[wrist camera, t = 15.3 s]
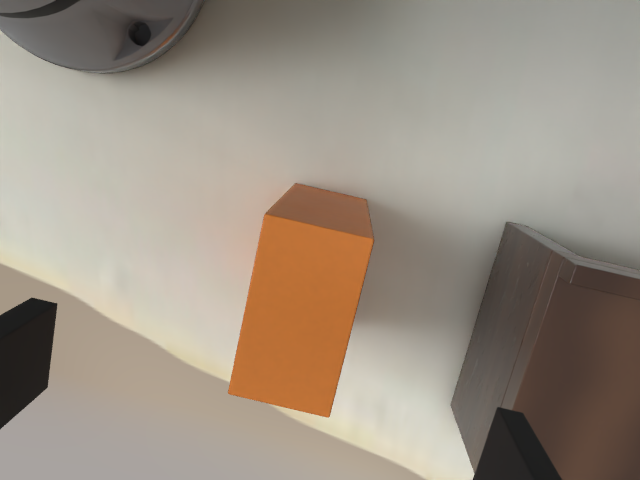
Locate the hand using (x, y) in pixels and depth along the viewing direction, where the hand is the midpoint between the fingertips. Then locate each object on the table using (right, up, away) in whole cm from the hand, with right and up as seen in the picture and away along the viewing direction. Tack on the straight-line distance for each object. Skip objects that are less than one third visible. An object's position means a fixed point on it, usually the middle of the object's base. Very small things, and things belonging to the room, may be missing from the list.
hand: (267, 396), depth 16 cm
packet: (+1, +4, +22) cm, 22 cm away
